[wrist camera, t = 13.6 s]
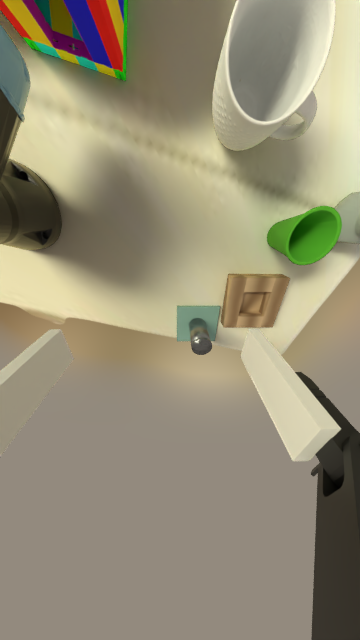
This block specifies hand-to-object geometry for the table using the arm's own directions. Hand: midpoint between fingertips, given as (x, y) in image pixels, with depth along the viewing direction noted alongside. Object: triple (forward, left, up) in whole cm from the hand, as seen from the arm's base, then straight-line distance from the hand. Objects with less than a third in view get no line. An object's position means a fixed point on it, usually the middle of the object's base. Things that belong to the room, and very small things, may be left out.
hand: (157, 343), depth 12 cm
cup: (+25, +6, -32) cm, 41 cm away
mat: (+8, -18, -32) cm, 37 cm away
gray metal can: (+8, -18, -31) cm, 37 cm away
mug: (+13, +23, -32) cm, 41 cm away
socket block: (+22, -10, -32) cm, 40 cm away
